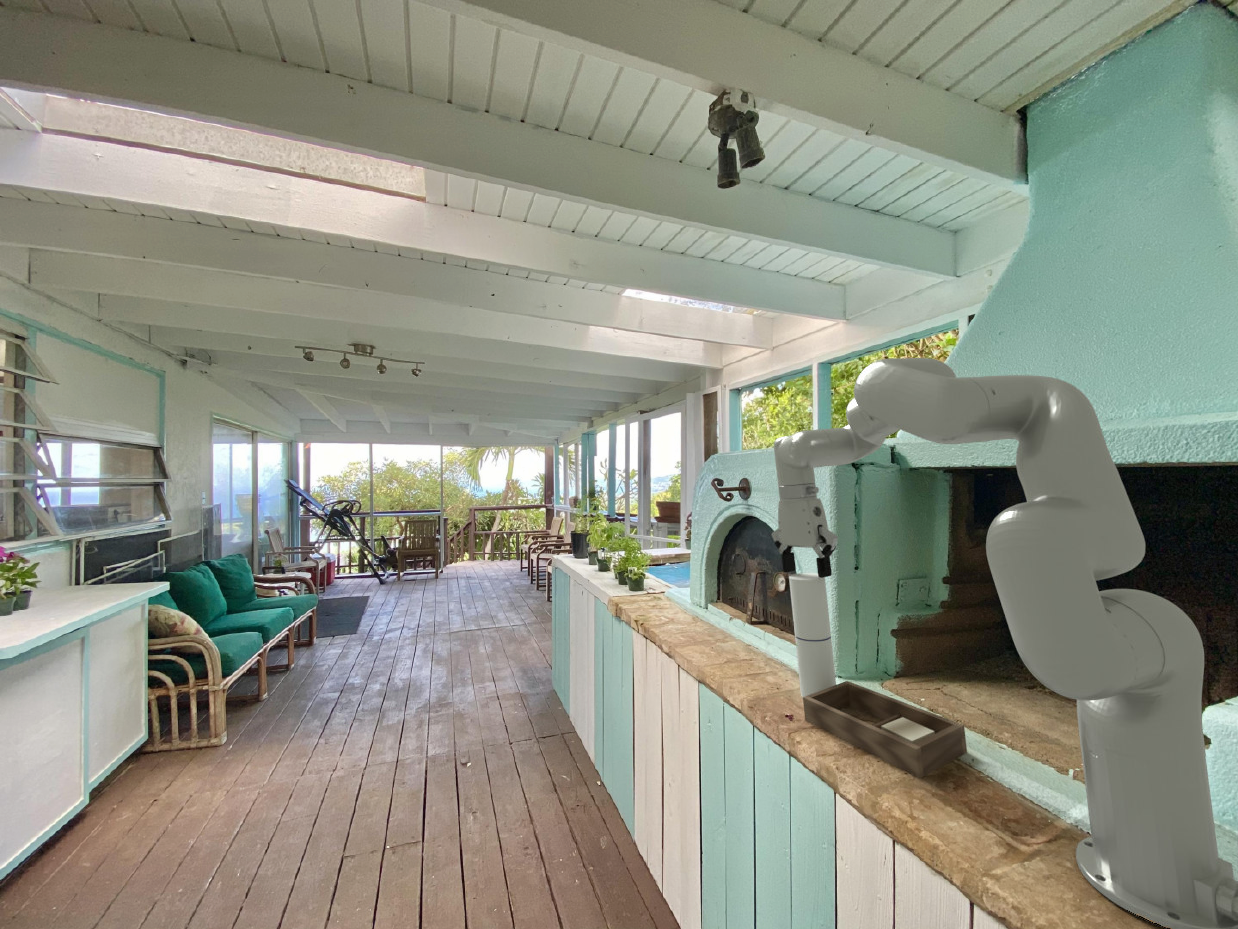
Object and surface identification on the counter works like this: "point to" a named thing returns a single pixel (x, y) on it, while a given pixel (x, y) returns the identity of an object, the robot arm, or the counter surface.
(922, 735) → the offcut top
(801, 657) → the cylindrical container
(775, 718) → the counter surface
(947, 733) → the tray
